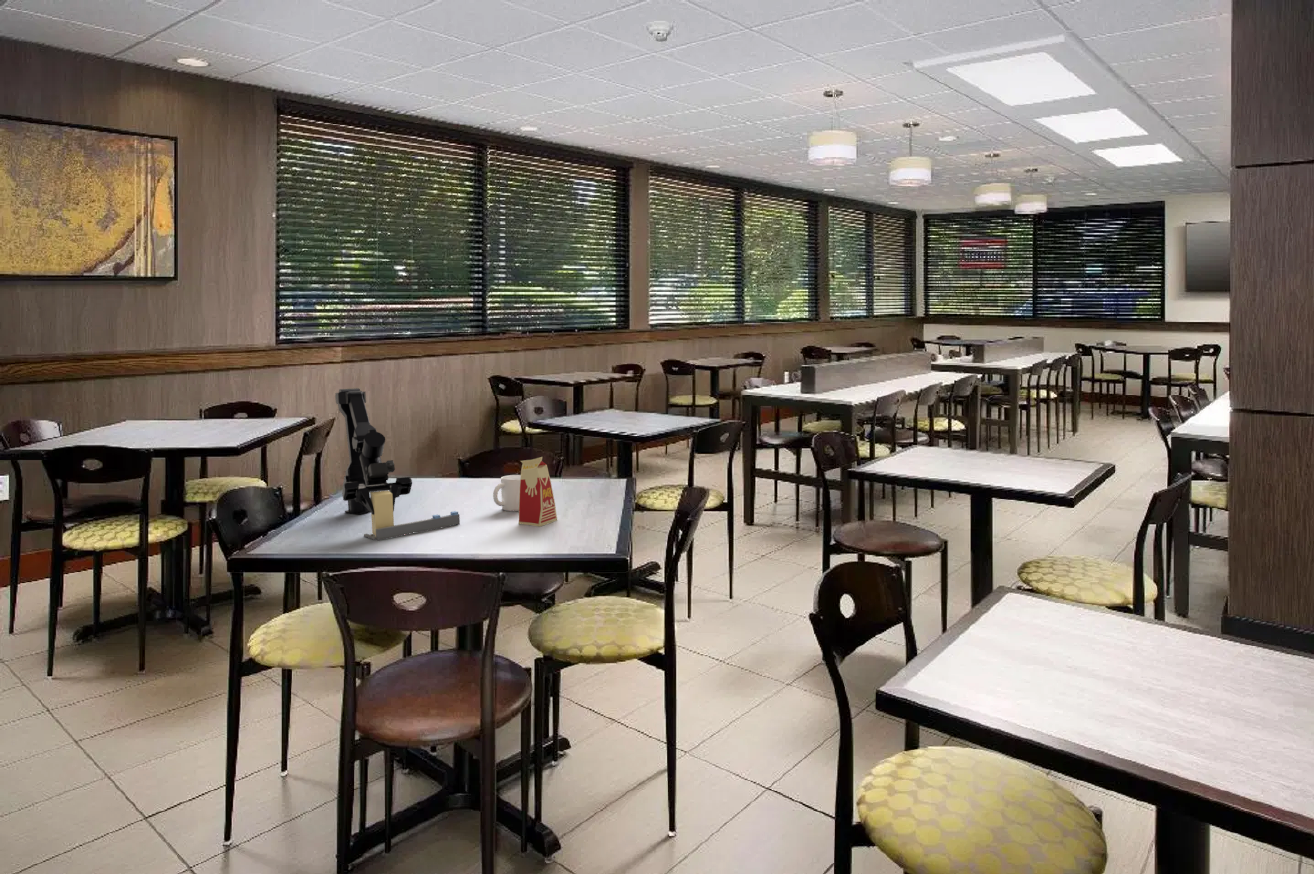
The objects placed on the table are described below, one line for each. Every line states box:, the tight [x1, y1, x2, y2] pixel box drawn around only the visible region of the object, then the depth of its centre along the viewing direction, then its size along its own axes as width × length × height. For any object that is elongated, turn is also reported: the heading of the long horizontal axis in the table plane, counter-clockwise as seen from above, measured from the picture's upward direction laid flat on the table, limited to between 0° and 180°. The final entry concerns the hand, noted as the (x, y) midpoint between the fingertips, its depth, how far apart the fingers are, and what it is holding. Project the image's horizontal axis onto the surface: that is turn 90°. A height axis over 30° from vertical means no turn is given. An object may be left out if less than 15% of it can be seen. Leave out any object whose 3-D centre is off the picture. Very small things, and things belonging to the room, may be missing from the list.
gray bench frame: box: [363, 510, 461, 541], centre depth 254 cm, size 27×7×4 cm, turn 135°
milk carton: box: [518, 456, 558, 527], centre depth 262 cm, size 9×9×20 cm
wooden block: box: [370, 490, 395, 537], centre depth 249 cm, size 5×5×12 cm
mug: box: [492, 474, 521, 512], centre depth 280 cm, size 12×8×10 cm
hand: (383, 512), depth 248 cm, fingers closed on wooden block, 5 cm apart
